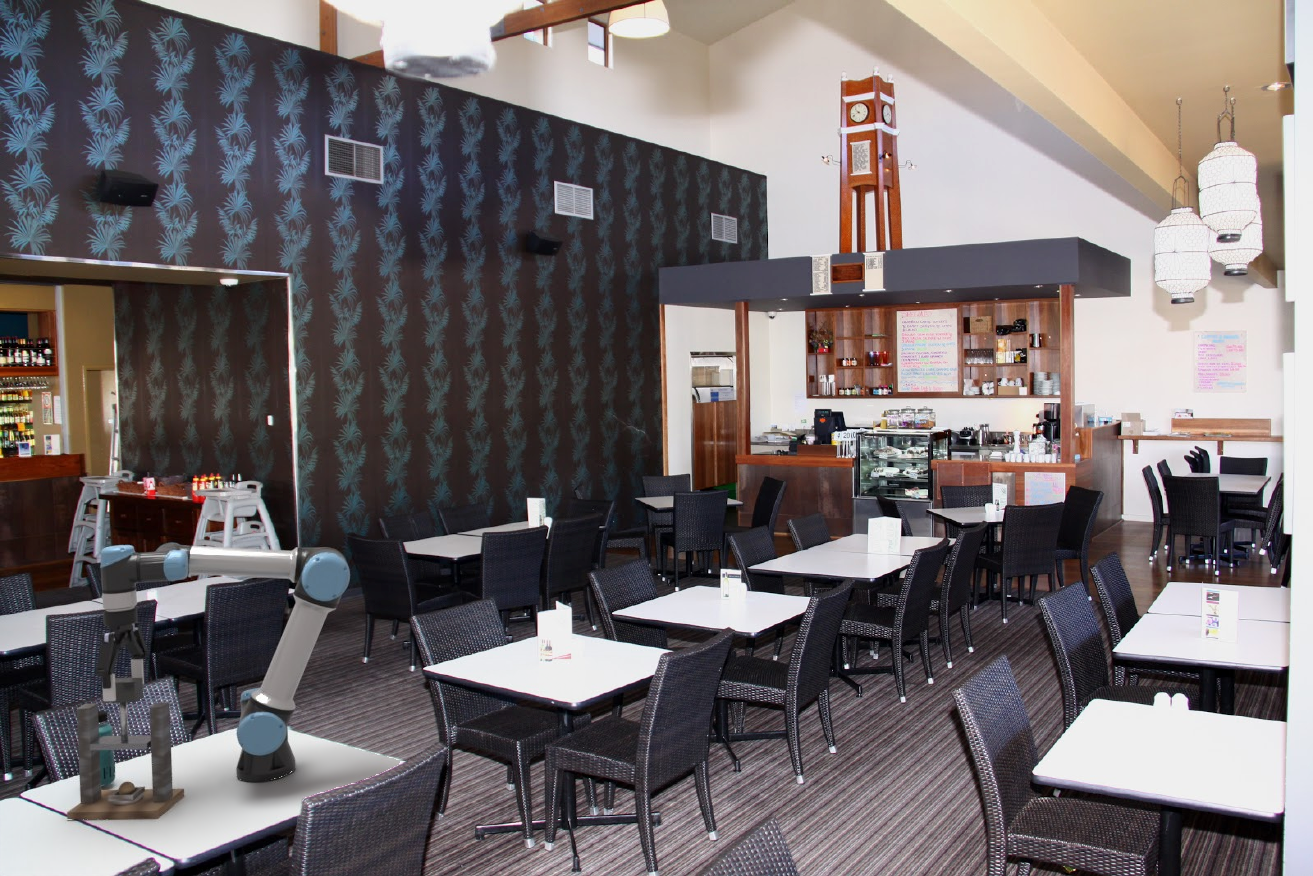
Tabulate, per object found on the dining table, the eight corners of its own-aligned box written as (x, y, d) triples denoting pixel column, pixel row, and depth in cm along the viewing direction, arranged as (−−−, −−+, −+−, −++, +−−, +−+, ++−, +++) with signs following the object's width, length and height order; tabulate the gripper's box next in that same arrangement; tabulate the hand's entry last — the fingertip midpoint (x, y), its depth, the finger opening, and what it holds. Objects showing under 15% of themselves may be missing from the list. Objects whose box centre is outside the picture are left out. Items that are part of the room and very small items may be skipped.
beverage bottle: (103, 793, 264) (100, 717, 263) (81, 791, 265) (78, 716, 264) (121, 783, 270) (118, 709, 269) (100, 782, 272) (97, 708, 271)
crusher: (158, 741, 256) (156, 676, 255) (147, 749, 250) (144, 683, 249) (103, 742, 256) (100, 677, 255) (90, 750, 250) (87, 684, 249)
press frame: (184, 796, 261) (180, 696, 260) (157, 818, 247) (153, 713, 246) (98, 797, 261) (94, 697, 260) (67, 820, 247) (62, 715, 246)
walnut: (137, 793, 255) (137, 779, 255) (130, 799, 252) (129, 784, 252) (123, 793, 255) (123, 779, 255) (116, 799, 252) (115, 785, 252)
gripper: (130, 598, 264) (134, 678, 265) (76, 619, 239) (80, 708, 240) (159, 597, 264) (163, 678, 265) (108, 619, 239) (112, 707, 240)
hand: (124, 692), depth 253 cm, fingers open, 13 cm apart
